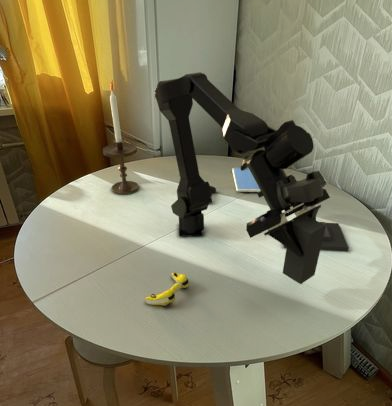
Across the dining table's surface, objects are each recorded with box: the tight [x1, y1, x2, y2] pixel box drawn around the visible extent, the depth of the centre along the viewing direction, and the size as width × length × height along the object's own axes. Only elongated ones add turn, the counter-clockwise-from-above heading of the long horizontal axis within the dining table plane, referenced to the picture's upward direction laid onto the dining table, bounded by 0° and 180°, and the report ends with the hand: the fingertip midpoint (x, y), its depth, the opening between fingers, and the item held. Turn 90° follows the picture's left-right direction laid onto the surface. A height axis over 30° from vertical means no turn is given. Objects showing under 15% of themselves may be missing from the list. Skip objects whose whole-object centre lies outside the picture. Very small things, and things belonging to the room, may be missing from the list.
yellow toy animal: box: [144, 272, 190, 307], centre depth 77 cm, size 10×6×4 cm, turn 148°
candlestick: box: [102, 79, 140, 196], centre depth 112 cm, size 11×11×35 cm
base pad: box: [283, 221, 349, 252], centre depth 95 cm, size 16×12×3 cm
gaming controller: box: [209, 185, 217, 205], centre depth 116 cm, size 10×5×6 cm
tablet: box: [231, 167, 260, 193], centre depth 126 cm, size 19×13×1 cm, turn 0°
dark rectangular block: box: [282, 216, 326, 285], centre depth 69 cm, size 5×5×12 cm
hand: (309, 251), depth 68 cm, fingers closed on dark rectangular block, 4 cm apart
